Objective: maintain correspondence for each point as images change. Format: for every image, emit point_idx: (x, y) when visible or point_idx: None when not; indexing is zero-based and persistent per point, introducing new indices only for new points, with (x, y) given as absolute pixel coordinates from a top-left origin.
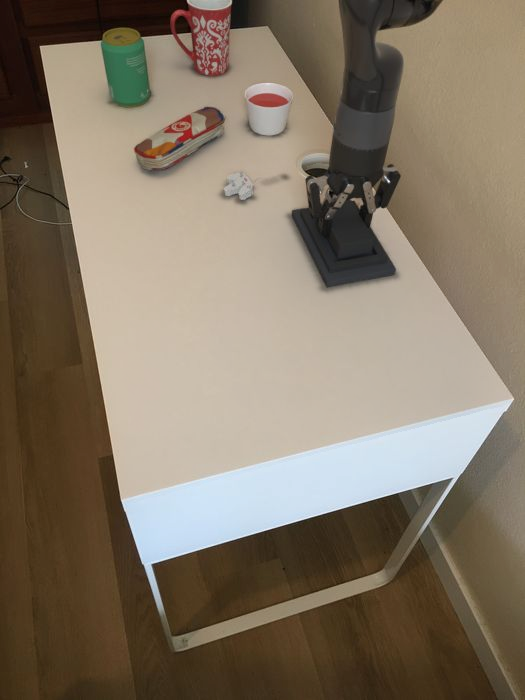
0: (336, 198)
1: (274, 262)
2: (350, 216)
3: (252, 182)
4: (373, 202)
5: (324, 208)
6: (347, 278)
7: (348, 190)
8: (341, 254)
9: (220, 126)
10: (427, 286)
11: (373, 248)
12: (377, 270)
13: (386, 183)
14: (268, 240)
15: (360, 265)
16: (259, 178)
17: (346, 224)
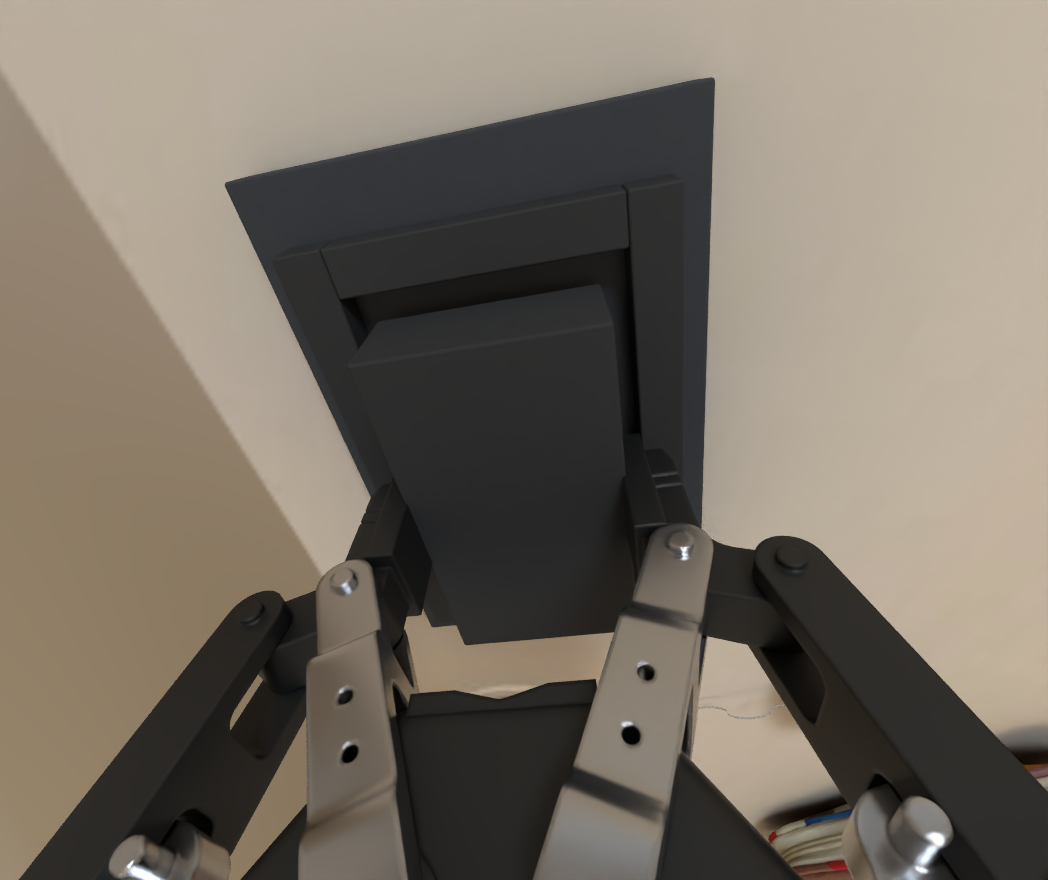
0: (685, 719)
1: (903, 329)
2: (482, 552)
3: (783, 704)
4: (326, 642)
5: (707, 613)
6: (561, 110)
7: (599, 850)
8: (580, 295)
9: (797, 855)
10: (13, 39)
11: None
12: (347, 180)
13: (179, 823)
14: (851, 468)
15: (458, 217)
16: (756, 717)
17: (519, 501)
